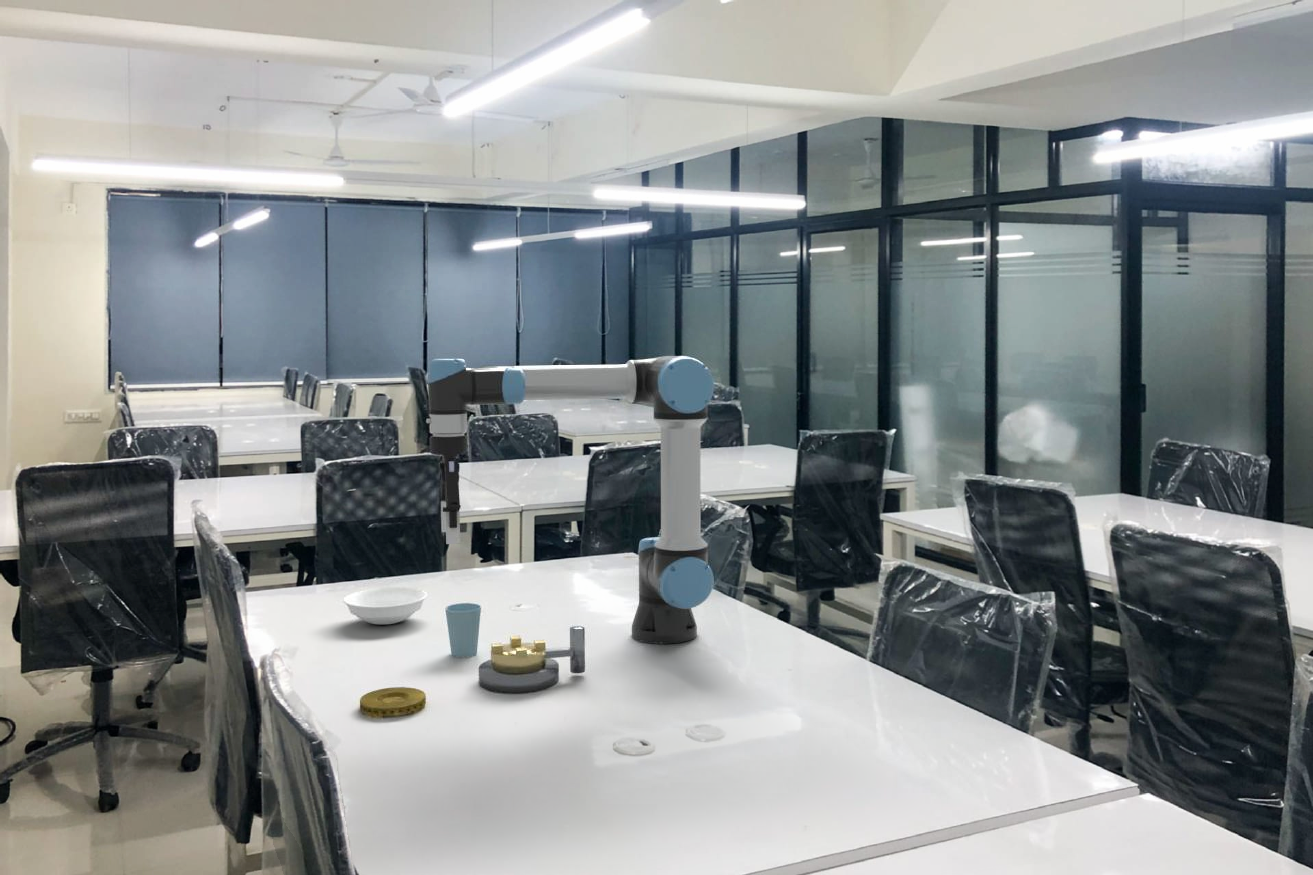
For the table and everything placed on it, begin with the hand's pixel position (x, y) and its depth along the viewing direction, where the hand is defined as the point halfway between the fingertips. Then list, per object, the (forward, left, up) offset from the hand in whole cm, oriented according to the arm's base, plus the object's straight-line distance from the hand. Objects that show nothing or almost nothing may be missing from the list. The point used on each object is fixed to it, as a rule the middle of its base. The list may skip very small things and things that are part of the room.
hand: (450, 537), depth 222 cm
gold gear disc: (+13, +20, -28) cm, 37 cm away
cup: (-3, -11, -28) cm, 31 cm away
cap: (-12, +11, -28) cm, 32 cm away
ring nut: (-16, +11, -27) cm, 33 cm away
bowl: (+13, -43, -28) cm, 53 cm away
